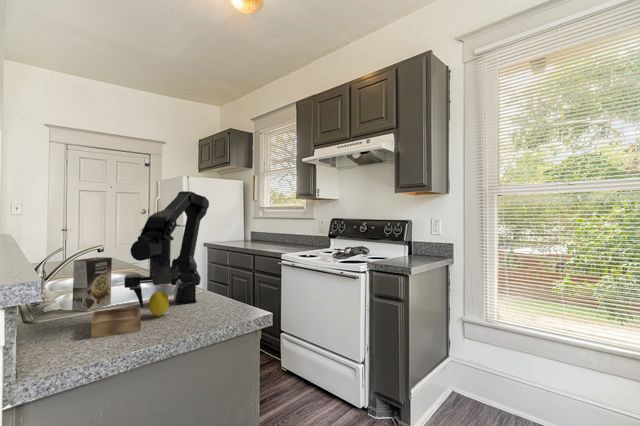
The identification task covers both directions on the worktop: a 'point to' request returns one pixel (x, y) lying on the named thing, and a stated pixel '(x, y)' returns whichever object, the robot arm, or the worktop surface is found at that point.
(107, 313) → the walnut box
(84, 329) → the worktop surface
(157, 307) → the lemon
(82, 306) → the cookie box
